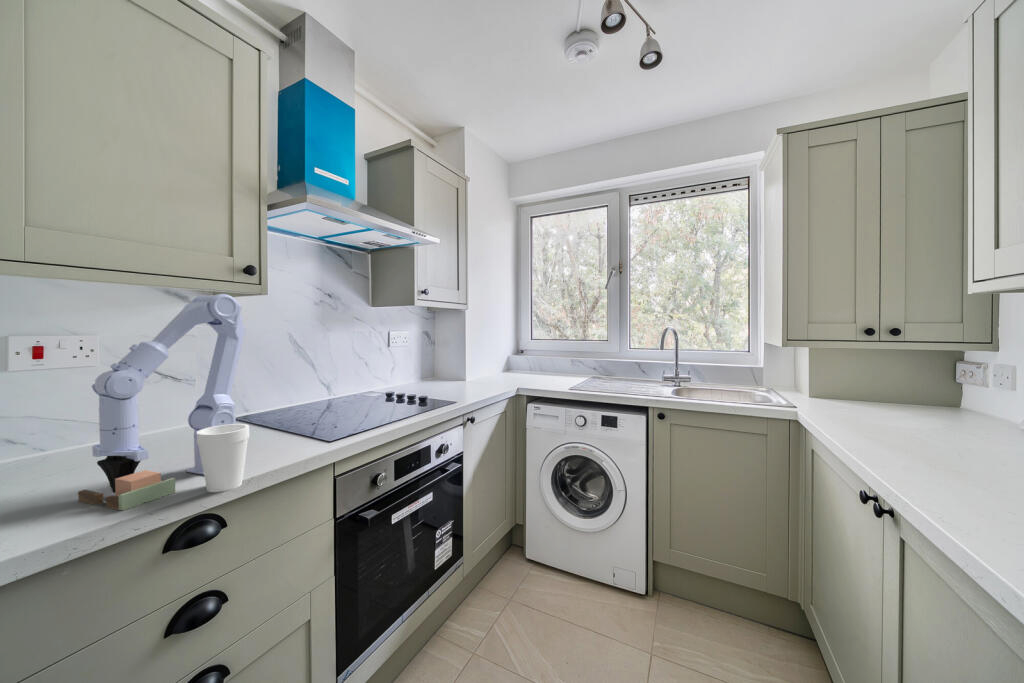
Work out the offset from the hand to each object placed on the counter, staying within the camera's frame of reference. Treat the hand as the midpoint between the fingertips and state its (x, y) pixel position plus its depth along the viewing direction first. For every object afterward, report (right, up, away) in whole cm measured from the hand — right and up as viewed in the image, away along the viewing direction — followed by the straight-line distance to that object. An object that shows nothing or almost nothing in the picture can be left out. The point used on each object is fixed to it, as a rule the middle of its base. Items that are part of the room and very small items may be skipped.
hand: (121, 490), depth 81 cm
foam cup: (+19, -1, +5) cm, 19 cm away
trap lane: (+2, -1, -1) cm, 3 cm away
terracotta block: (+6, -1, -2) cm, 6 cm away
